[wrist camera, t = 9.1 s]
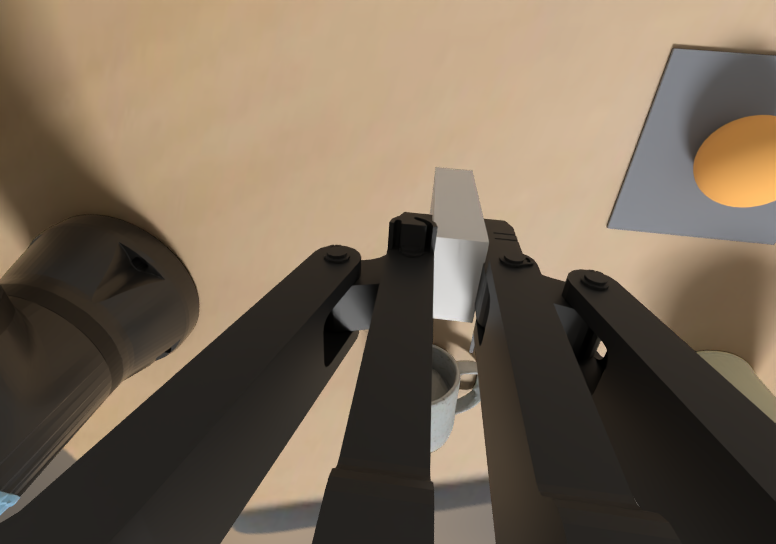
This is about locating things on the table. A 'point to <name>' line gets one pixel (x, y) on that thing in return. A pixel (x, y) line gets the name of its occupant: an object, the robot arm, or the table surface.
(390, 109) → the table surface
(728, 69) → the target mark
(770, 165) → the ball
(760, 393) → the can
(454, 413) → the ceramic mug
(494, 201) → the table surface
